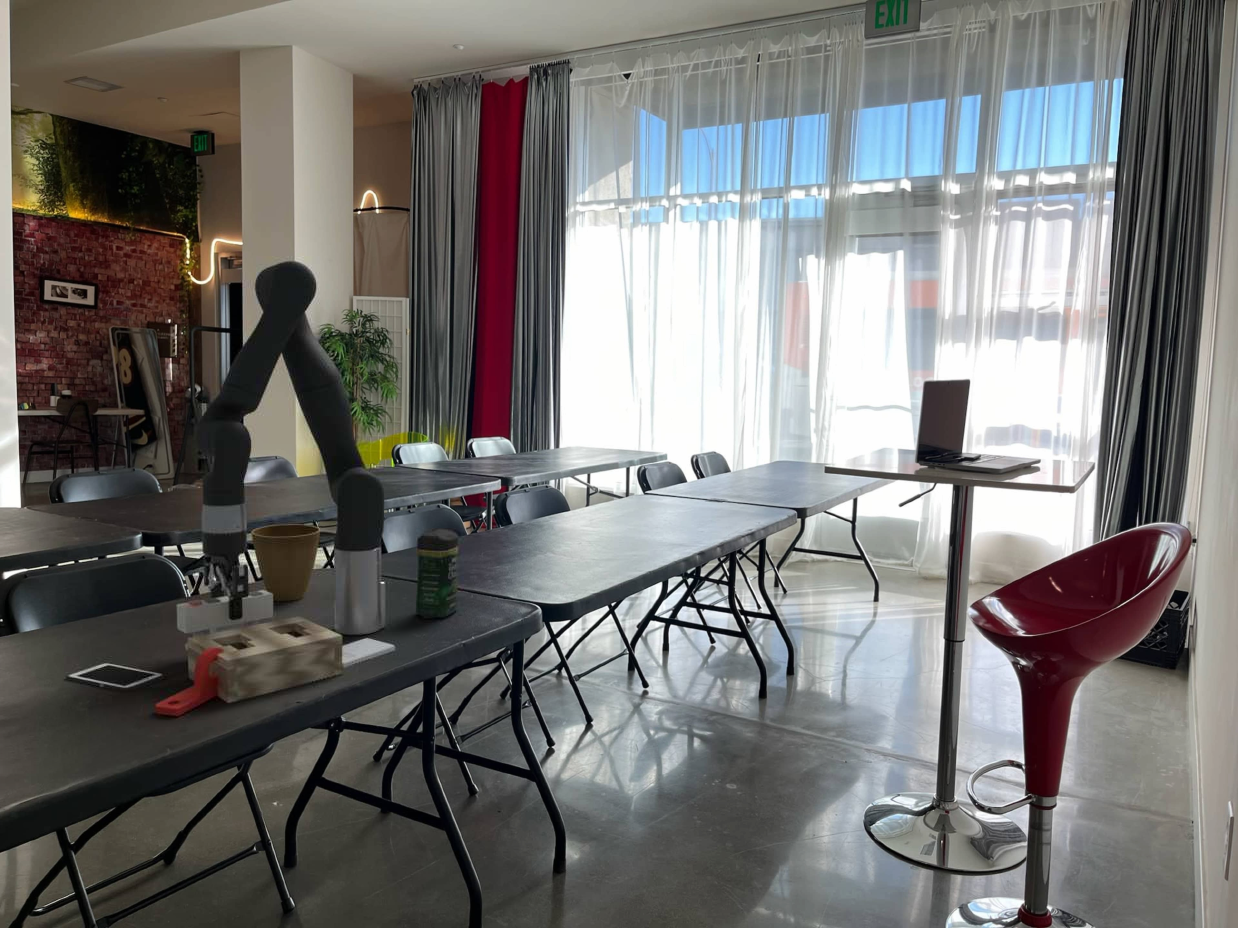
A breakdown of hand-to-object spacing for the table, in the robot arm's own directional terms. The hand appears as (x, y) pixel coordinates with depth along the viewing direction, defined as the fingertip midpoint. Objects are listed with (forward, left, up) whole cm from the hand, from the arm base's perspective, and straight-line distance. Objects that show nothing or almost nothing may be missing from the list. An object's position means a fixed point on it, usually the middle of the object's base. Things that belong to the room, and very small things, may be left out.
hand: (226, 614), depth 164 cm
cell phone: (+19, 0, -8) cm, 21 cm away
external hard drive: (-17, +16, -8) cm, 25 cm away
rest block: (0, 0, -8) cm, 8 cm away
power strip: (0, 0, -6) cm, 6 cm away
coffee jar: (-45, +3, -8) cm, 46 cm away
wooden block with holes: (0, +16, -8) cm, 18 cm away
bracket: (+14, +20, -8) cm, 25 cm away
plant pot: (-27, -31, -8) cm, 42 cm away
